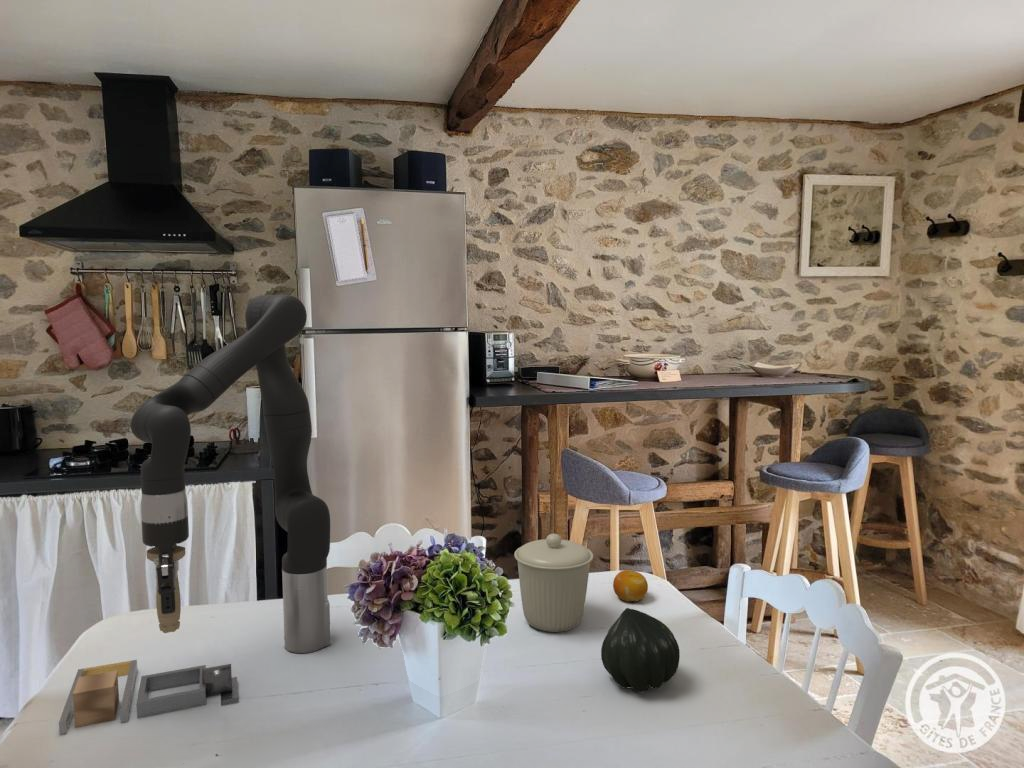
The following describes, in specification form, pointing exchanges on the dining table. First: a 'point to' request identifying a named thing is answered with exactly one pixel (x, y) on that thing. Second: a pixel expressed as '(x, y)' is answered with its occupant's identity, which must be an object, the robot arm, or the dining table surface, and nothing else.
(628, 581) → the fruit
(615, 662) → the squash
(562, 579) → the canister
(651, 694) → the dining table surface
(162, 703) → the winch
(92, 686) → the tan cardboard box
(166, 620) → the handle
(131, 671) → the bay
